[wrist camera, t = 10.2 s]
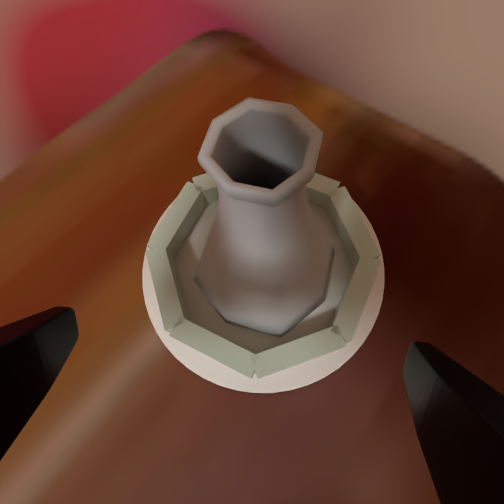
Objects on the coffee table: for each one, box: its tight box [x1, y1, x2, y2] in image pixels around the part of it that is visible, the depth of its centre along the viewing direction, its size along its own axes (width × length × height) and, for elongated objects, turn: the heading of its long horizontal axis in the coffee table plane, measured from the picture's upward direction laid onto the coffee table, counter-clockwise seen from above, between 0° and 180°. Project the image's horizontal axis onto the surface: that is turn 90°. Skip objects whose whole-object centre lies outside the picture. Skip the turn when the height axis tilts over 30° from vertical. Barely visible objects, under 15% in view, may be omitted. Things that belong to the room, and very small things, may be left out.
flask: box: [194, 97, 335, 337], centre depth 13 cm, size 7×7×10 cm
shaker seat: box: [143, 172, 385, 393], centre depth 18 cm, size 13×13×2 cm
